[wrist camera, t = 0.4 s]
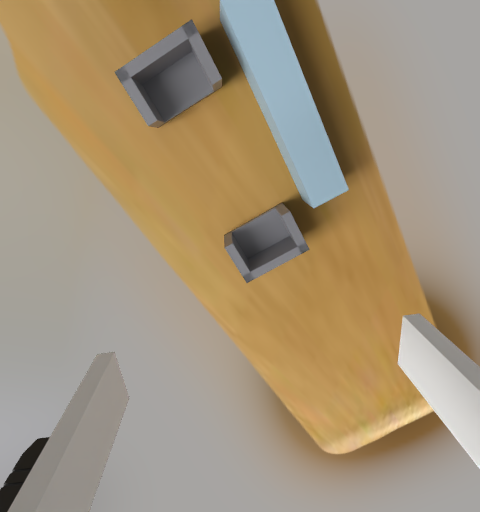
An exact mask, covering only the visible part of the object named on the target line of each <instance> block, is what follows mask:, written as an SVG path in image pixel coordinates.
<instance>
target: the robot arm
mask: <svg viewBox="0 0 480 512" xmlns="http://www.w3.org/2000/svg"><path fill="white" fill-rule="evenodd" d="M398 365H399V366H400V367H401V369H402V370H403V371H404V372H405V374H406V375H407V376H408V378H409V379H410V380H411V381H412V383H413V384H414V385H415V387H416V388H417V389H418V390H419V392H420V393H421V394H422V396H423V397H424V398H425V399H426V401H427V402H428V403H429V405H430V406H431V407H432V408H433V410H434V411H435V412H436V414H437V415H438V416H439V417H440V419H441V420H442V421H443V423H444V424H445V425H446V426H447V428H448V429H449V430H450V431H451V433H452V434H453V435H454V437H455V438H456V439H457V440H458V442H459V443H460V444H461V446H462V447H463V448H464V449H465V451H466V452H467V453H468V455H469V456H470V457H471V458H472V460H473V461H474V462H475V464H476V465H477V466H478V467H479V469H480V367H479V366H478V365H477V364H475V363H474V362H473V361H472V360H471V359H470V358H469V357H468V356H467V355H465V354H464V353H463V352H462V351H461V350H460V349H459V348H457V347H456V346H455V345H454V344H453V343H452V342H451V341H450V340H449V339H447V338H446V337H445V336H444V335H443V334H442V333H441V332H440V331H438V330H437V329H436V328H435V327H434V326H433V325H432V324H431V323H429V322H428V321H427V320H426V319H425V318H424V317H423V316H422V315H421V314H413V315H405V316H403V321H402V330H401V339H400V349H399V358H398ZM128 400H129V396H128V393H127V389H126V386H125V383H124V380H123V377H122V374H121V371H120V368H119V365H118V361H117V358H116V355H115V352H109V353H101V354H97V355H96V357H95V359H94V361H93V363H92V364H91V366H90V368H89V370H88V371H87V373H86V375H85V377H84V378H83V380H82V382H81V384H80V385H79V387H78V389H77V391H76V392H75V394H74V396H73V398H72V400H71V401H70V403H69V405H68V406H67V408H66V410H65V412H64V413H63V415H62V417H61V419H60V420H59V422H58V424H57V426H56V427H55V429H54V431H53V433H52V435H51V436H50V437H48V438H40V439H37V440H36V441H35V442H34V443H33V444H32V445H31V446H30V447H29V448H28V449H27V450H26V451H25V452H24V453H23V454H22V456H21V457H20V459H19V461H18V462H17V464H16V465H15V467H14V469H13V472H12V473H11V474H10V475H9V477H8V478H7V480H6V481H5V483H4V487H3V488H1V489H0V512H89V511H90V508H91V506H92V503H93V500H94V497H95V494H96V491H97V488H98V486H99V483H100V480H101V477H102V474H103V471H104V468H105V465H106V463H107V460H108V457H109V454H110V451H111V448H112V446H113V443H114V440H115V437H116V434H117V432H118V429H119V426H120V423H121V420H122V417H123V414H124V411H125V409H126V406H127V403H128Z"/></svg>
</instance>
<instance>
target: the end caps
mask: <svg viewBox="0 0 480 512" xmlns="http://www.w3.org/2000/svg"><path fill="white" fill-rule="evenodd" d="M115 74H116V75H117V77H118V79H119V80H120V82H121V83H122V85H123V87H124V88H125V90H126V91H127V93H128V94H129V96H130V98H131V99H132V101H133V102H134V104H135V106H136V107H137V109H138V110H139V112H140V114H141V115H142V117H143V118H144V120H145V122H146V123H147V125H148V126H151V127H157V128H158V127H160V126H161V125H163V124H165V123H166V122H168V121H169V120H171V119H172V118H174V117H175V116H177V115H179V114H180V113H182V112H183V111H185V110H186V109H188V108H190V107H191V106H193V105H194V104H196V103H197V102H199V101H201V100H202V99H204V98H205V97H207V96H208V95H210V94H211V93H213V92H215V91H216V90H218V89H219V88H221V87H222V77H221V75H220V74H219V72H218V70H217V68H216V66H215V64H214V62H213V60H212V58H211V56H210V54H209V52H208V50H207V48H206V46H205V44H204V42H203V40H202V38H201V36H200V34H199V32H198V31H197V29H196V27H195V25H194V23H193V21H192V20H190V21H189V22H187V23H186V24H184V25H183V26H181V27H180V28H178V29H177V30H175V31H174V32H173V33H171V34H170V35H168V36H167V37H165V38H164V39H162V40H161V41H159V42H158V43H156V44H155V45H154V46H152V47H151V48H149V49H148V50H146V51H145V52H143V53H142V54H140V55H139V56H137V57H136V58H134V59H133V60H132V61H130V62H129V63H127V64H126V65H124V66H123V67H121V68H120V69H118V70H117V71H115ZM224 243H225V249H226V251H227V252H228V254H229V255H230V257H231V259H232V260H233V262H234V263H235V265H236V267H237V268H238V270H239V271H240V273H241V275H242V276H243V278H244V279H245V281H246V282H247V283H248V282H250V281H251V280H253V279H255V278H257V277H259V276H261V275H263V274H265V273H266V272H268V271H270V270H272V269H274V268H276V267H278V266H280V265H281V264H283V263H285V262H287V261H289V260H291V259H293V258H295V257H296V256H298V255H300V254H302V253H304V252H306V251H308V250H309V248H308V246H307V244H306V242H305V240H304V238H303V236H302V234H301V232H300V230H299V228H298V226H297V224H296V222H295V220H294V218H293V216H292V214H291V212H290V211H289V210H288V209H287V208H286V207H285V206H284V204H283V203H280V204H279V205H277V206H275V207H273V208H271V209H270V210H268V211H266V212H264V213H263V214H261V215H259V216H257V217H256V218H254V219H252V220H250V221H248V222H247V223H245V224H243V225H241V226H240V227H238V228H236V229H234V230H232V231H231V232H229V233H227V234H225V235H224Z"/></svg>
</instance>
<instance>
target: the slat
mask: <svg viewBox="0 0 480 512" xmlns="http://www.w3.org/2000/svg"><path fill="white" fill-rule="evenodd" d="M220 21H221V23H222V26H223V28H224V30H225V32H226V34H227V36H228V39H229V41H230V43H231V45H232V47H233V50H234V52H235V54H236V56H237V58H238V60H239V63H240V65H241V67H242V69H243V71H244V73H245V76H246V78H247V80H248V82H249V84H250V87H251V89H252V91H253V93H254V95H255V97H256V100H257V102H258V104H259V106H260V108H261V110H262V113H263V115H264V117H265V119H266V121H267V124H268V126H269V128H270V130H271V132H272V134H273V137H274V139H275V141H276V143H277V145H278V147H279V150H280V152H281V154H282V156H283V158H284V161H285V163H286V165H287V167H288V169H289V171H290V174H291V176H292V178H293V180H294V182H295V184H296V187H297V189H298V191H299V193H300V195H301V198H302V200H303V201H305V202H306V203H307V204H309V205H310V206H311V207H313V208H316V207H317V206H319V205H321V204H323V203H325V202H327V201H329V200H331V199H333V198H334V197H336V196H338V195H340V194H342V193H344V192H346V191H348V190H349V189H348V187H347V184H346V182H345V179H344V177H343V174H342V171H341V169H340V166H339V164H338V161H337V159H336V156H335V154H334V151H333V149H332V146H331V144H330V141H329V138H328V136H327V133H326V131H325V128H324V126H323V123H322V121H321V118H320V116H319V113H318V111H317V108H316V105H315V103H314V100H313V98H312V95H311V93H310V90H309V88H308V85H307V83H306V80H305V78H304V75H303V73H302V70H301V67H300V65H299V62H298V60H297V57H296V55H295V52H294V50H293V47H292V45H291V42H290V40H289V37H288V34H287V32H286V29H285V27H284V24H283V22H282V19H281V17H280V14H279V12H278V9H277V7H276V4H275V1H274V0H220Z"/></svg>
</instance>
